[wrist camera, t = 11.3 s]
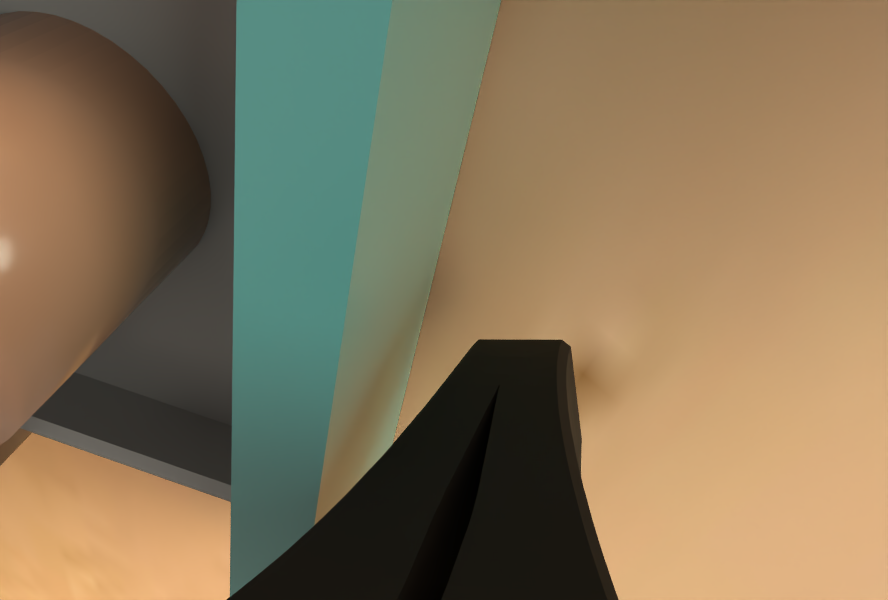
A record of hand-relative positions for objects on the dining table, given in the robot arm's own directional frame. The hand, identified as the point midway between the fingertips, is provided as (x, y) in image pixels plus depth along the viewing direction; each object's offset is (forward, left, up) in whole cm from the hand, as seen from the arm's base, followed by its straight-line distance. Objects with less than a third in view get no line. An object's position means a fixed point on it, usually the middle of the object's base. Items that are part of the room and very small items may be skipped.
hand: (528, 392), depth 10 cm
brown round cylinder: (+8, 0, -2) cm, 9 cm away
